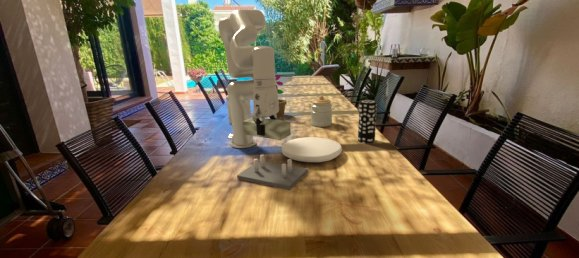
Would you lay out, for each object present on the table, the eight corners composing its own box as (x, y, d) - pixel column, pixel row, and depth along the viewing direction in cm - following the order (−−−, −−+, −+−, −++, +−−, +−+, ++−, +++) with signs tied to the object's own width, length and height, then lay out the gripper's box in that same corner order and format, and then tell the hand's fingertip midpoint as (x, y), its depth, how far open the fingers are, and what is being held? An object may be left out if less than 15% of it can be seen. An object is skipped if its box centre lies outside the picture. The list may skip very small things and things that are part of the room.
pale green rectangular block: (290, 134, 110) (290, 121, 109) (280, 140, 104) (280, 126, 103) (254, 129, 118) (254, 116, 116) (243, 134, 112) (242, 121, 111)
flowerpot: (264, 118, 202) (261, 72, 194) (268, 113, 216) (266, 70, 207) (285, 118, 200) (283, 72, 191) (288, 113, 213) (287, 70, 205)
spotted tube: (371, 144, 147) (374, 103, 141) (355, 141, 151) (356, 102, 145) (377, 139, 153) (379, 100, 148) (361, 137, 158) (362, 99, 152)
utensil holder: (232, 119, 202) (230, 93, 197) (254, 119, 200) (252, 93, 195) (225, 125, 188) (222, 97, 183) (248, 125, 186) (246, 97, 181)
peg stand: (237, 178, 114) (236, 162, 112) (260, 163, 128) (259, 149, 126) (289, 190, 104) (289, 172, 103) (308, 172, 118) (307, 156, 116)
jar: (317, 120, 193) (317, 93, 188) (335, 123, 185) (336, 94, 181) (306, 125, 183) (306, 96, 178) (325, 128, 175) (325, 98, 170)
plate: (288, 134, 151) (343, 136, 146) (288, 147, 152) (342, 149, 147) (274, 147, 124) (340, 151, 119) (274, 163, 125) (340, 167, 120)
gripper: (259, 87, 97) (262, 140, 102) (286, 80, 111) (287, 127, 116) (240, 86, 100) (244, 137, 105) (269, 79, 115) (271, 125, 120)
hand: (267, 131), depth 111 cm, fingers closed on pale green rectangular block, 7 cm apart
